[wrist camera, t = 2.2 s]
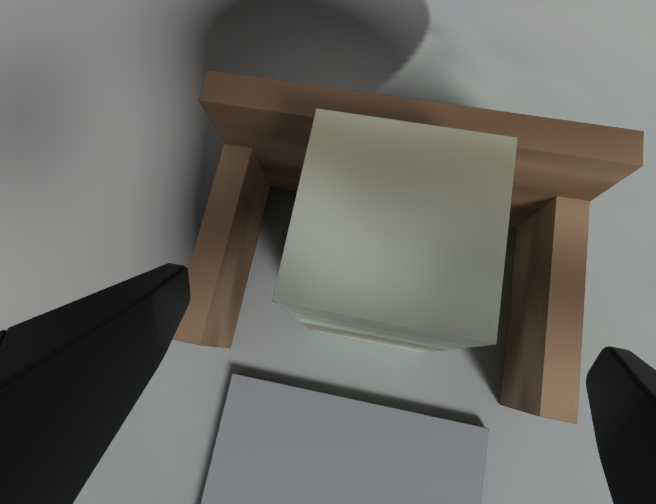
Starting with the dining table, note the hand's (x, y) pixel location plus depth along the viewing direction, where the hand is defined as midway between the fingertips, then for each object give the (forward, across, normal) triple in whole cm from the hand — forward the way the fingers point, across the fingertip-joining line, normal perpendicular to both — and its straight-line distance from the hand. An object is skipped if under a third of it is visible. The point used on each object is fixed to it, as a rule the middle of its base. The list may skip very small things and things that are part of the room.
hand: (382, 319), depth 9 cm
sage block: (+9, 0, +6) cm, 10 cm away
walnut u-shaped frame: (+9, 0, +6) cm, 10 cm away
